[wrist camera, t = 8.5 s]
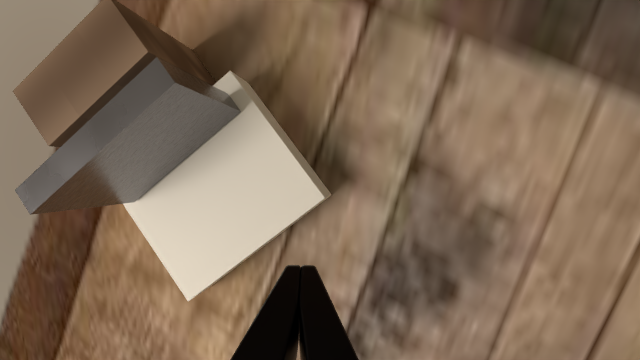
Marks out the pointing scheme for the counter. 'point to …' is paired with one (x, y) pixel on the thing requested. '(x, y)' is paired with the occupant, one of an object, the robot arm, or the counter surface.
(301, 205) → the door block
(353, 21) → the counter surface
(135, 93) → the grey piece
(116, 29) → the block
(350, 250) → the counter surface
